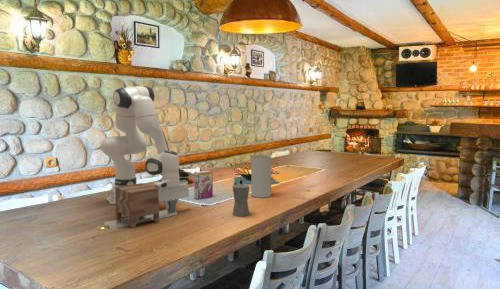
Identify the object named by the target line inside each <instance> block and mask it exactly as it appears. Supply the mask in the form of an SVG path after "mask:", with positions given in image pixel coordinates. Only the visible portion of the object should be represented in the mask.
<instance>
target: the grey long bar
mask: <svg viewBox="0 0 500 289" xmlns="http://www.w3.org/2000/svg"><path fill="white" fill-rule="evenodd" d="M175 201H176V200H175V199H173V200H168V203H167V204H168V205H170V208H169V209H163V210H159V220H160V219H165V218H169V217H174V216H177V215H178V211H176V207H175ZM151 221H153V214H152V215H147V216H142V217H137V218H136V225H138V224H141V223H146V222H151ZM103 225H106V226H108V228H107V229H110V230H115V229H117V228H123V227H127V226H128V227H129V226H130V218H129V217H124V218H122V219H118V220H116V219H114V220H108V221H104V222H103Z"/></svg>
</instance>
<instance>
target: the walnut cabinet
mask: <svg viewBox="0 0 500 289" xmlns="http://www.w3.org/2000/svg"><path fill="white" fill-rule="evenodd" d="M115 201H116V204H115V220H118V219H123V218H122V215H123V216H126V218H128V217H129V218H130V225H129V228H131V229H134V228H136V227H137V224H136V218H137V217H142V216H147V215H152V214H153V220H152V221H153V223H155V224H156V223H160V219H159V211H160V208H159V207H160V202H159V192H158V188H155V187H154V186H153V185H152V186H151V185H148V184H145V183H142V182H141V183H140V182H139V183H136V184H132V185H125V186H118V187H115Z"/></svg>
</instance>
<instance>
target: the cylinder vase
mask: <svg viewBox="0 0 500 289" xmlns="http://www.w3.org/2000/svg"><path fill="white" fill-rule="evenodd" d="M250 159H251V163H250V164H251V168H250V169H251V170H250V174H251V175H250V176H251V177H250V178H251V180H250V182H251V184H250V186H251V187H250V188H251V190H250V193H251V196H252V197H254V198H257V199H258V198H259V199H264V198H266V199H267V198H270V197H271V196H272V156H271V155H266V154H265V155H263V154H261V155H260V154H258V155H252V156H251V158H250Z"/></svg>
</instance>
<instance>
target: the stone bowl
mask: <svg viewBox="0 0 500 289" xmlns="http://www.w3.org/2000/svg"><path fill="white" fill-rule="evenodd" d="M159 175H161V174H159ZM161 176H162V175H161ZM192 177H194V172H193V173H192V172H191V171H186V170H184V169H181V168H179V181H180V180H186V182H187V181H188V180H189V178H192Z"/></svg>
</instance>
